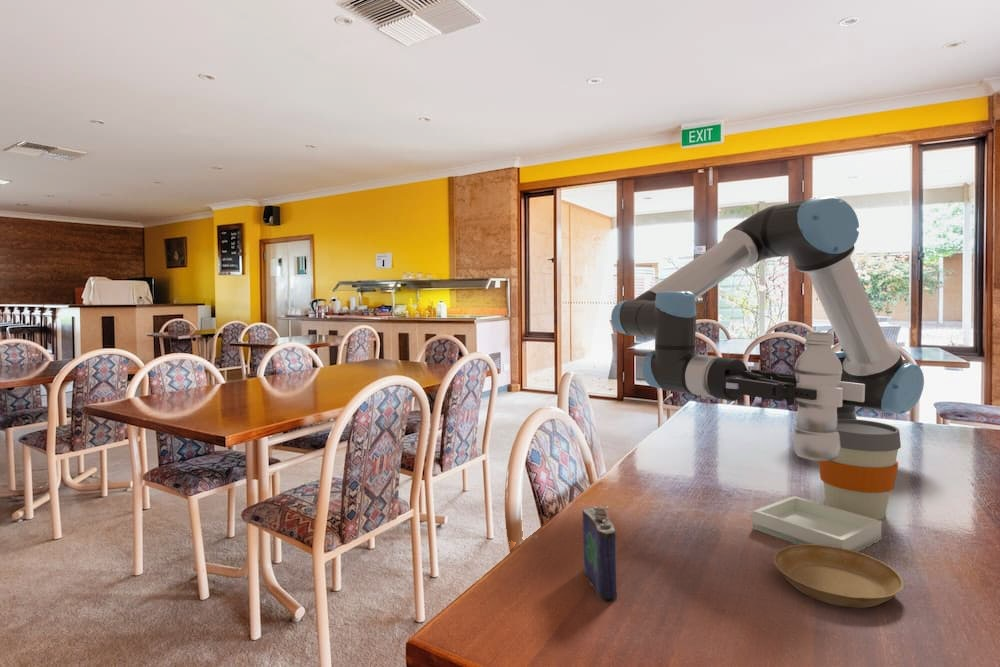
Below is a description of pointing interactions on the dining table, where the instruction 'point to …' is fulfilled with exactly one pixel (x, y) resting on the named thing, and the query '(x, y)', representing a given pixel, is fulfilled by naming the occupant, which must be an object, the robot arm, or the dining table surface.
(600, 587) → the flask
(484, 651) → the dining table surface
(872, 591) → the plant saucer
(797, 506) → the tray
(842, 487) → the reusable coffee cup
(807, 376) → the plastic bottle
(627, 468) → the dining table surface
